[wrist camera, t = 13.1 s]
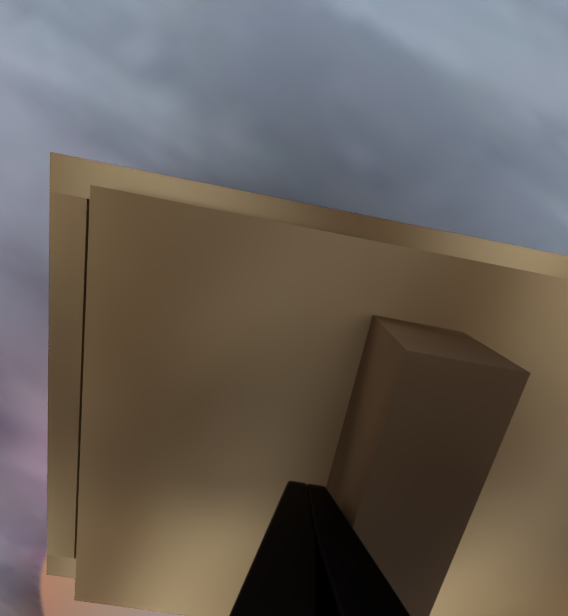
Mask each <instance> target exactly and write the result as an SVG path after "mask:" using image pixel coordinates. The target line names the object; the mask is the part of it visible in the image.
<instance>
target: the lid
mask: <svg viewBox="0 0 568 616" xmlns="http://www.w3.org/2000/svg"><path fill="white" fill-rule="evenodd" d="M288 481H297V482H303V483H306V484H315V485H322V486H325V487H326V488H327V489H328V491H329V493H330V494H331V496H332V497H333V499H334V500H335V502H336V503H337V505H338V506H339V508H340V509H341V511H342V512H343V514H344V515H345V517H346V518H347V520H348V521H349V523H350V524H351V526H352V527H353V529H354V530H355V532H356V534H357V535H358V537H359V538H360V540H361V541H362V543H363V544H364V546H365V547H366V549H367V550H368V552H369V553H370V555H371V556H372V558H373V559H374V561H375V562H376V564H377V565H378V567H379V568H380V570H381V571H382V573H383V575H384V576H385V578H386V579H387V581H388V582H389V584H390V585H391V587H392V588H393V590H394V591H395V593H396V594H397V596H398V597H399V599H400V600H401V602H402V603H403V605H404V606H405V608H406V609H407V611H408V613H409V614H410V616H568V279H565V278H560V277H555V276H550V275H545V274H540V273H535V272H530V271H525V270H520V269H514V268H509V267H504V266H499V265H494V264H489V263H484V262H479V261H474V260H469V259H464V258H459V257H454V256H449V255H444V254H439V253H433V252H428V251H423V250H418V249H413V248H408V247H403V246H398V245H393V244H388V243H383V242H378V241H373V240H368V239H363V238H357V237H352V236H347V235H342V234H337V233H332V232H327V231H322V230H317V229H312V228H307V227H302V226H297V225H292V224H287V223H281V222H276V221H271V220H266V219H261V218H256V217H251V216H246V215H241V214H236V213H231V212H226V211H221V210H216V209H211V208H206V207H200V206H195V205H190V204H185V203H180V202H175V201H170V200H165V199H160V198H155V197H150V196H145V195H140V194H135V193H130V192H124V191H119V190H114V189H109V188H104V187H99V186H94V185H90V205H89V232H88V258H87V285H86V311H85V338H84V364H83V390H82V417H81V443H80V470H79V496H78V523H77V549H76V575H75V600H77V601H84V602H91V603H99V604H106V605H114V606H121V607H128V608H135V609H142V610H149V611H157V612H164V613H171V614H178V615H185V616H229V615H230V612H231V610H232V608H233V605H234V603H235V601H236V599H237V596H238V594H239V592H240V589H241V587H242V585H243V583H244V580H245V578H246V576H247V573H248V571H249V569H250V567H251V564H252V562H253V560H254V557H255V555H256V553H257V551H258V548H259V546H260V544H261V541H262V539H263V537H264V535H265V532H266V530H267V528H268V525H269V523H270V521H271V518H272V516H273V514H274V512H275V509H276V507H277V505H278V502H279V500H280V498H281V496H282V493H283V491H284V489H285V486H286V484H287V482H288Z"/></svg>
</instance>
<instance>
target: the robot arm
mask: <svg viewBox="0 0 568 616" xmlns="http://www.w3.org/2000/svg"><path fill="white" fill-rule="evenodd" d="M229 616H410V614H409V613H408V611H407V609H406V608H405V606H404V605H403V603H402V602H401V600H400V599H399V597H398V596H397V594H396V593H395V591H394V590H393V588H392V587H391V585H390V584H389V582H388V581H387V579H386V578H385V576H384V575H383V573H382V571H381V570H380V568H379V567H378V565H377V564H376V562H375V561H374V559H373V558H372V556H371V555H370V553H369V552H368V550H367V549H366V547H365V546H364V544H363V543H362V541H361V540H360V538H359V537H358V535H357V534H356V532H355V530H354V529H353V527H352V526H351V524H350V523H349V521H348V520H347V518H346V517H345V515H344V514H343V512H342V511H341V509H340V508H339V506H338V505H337V503H336V502H335V500H334V499H333V497H332V496H331V494H330V493H329V491H328V489H327V488H326V487H325V486H322V485H315V484H306V483H303V482H297V481H288V482H287V484H286V486H285V489H284V491H283V493H282V496H281V498H280V500H279V502H278V505H277V507H276V509H275V512H274V514H273V516H272V518H271V521H270V523H269V525H268V528H267V530H266V532H265V535H264V537H263V539H262V541H261V544H260V546H259V548H258V551H257V553H256V555H255V557H254V560H253V562H252V564H251V567H250V569H249V571H248V573H247V576H246V578H245V580H244V583H243V585H242V587H241V589H240V592H239V594H238V596H237V599H236V601H235V603H234V605H233V608H232V610H231V612H230V615H229Z"/></svg>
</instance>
